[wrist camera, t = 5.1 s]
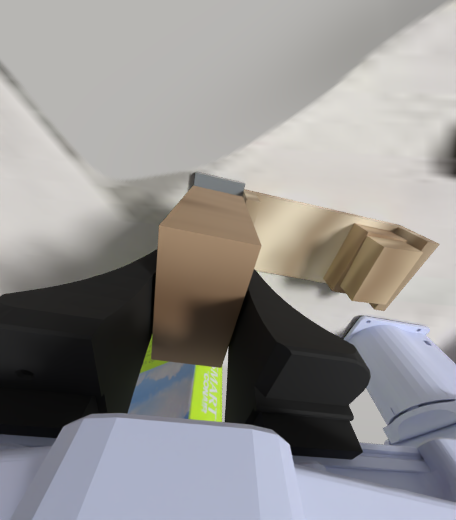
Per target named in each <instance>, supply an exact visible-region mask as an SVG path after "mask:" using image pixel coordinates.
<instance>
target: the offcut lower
mask: <svg viewBox="0 0 456 520" xmlns="http://www.w3.org/2000/svg"><path fill="white" fill-rule="evenodd" d="M367 236H372V237H379V238H386V239H393V240H400V241H403V242H405V243H406V242H407V240H405V239H404V238H402V237H400V236H398V235H396V234H394V233H393V232H391V231H387V230H383V229H378V228H374V227H369V226H365V225H361V224H356V223H354V225H353V226H352V228H351V230H350V232H349V233H348V235H347V237H346V239H345V241H344V242H343V244H342V246H341V248H340V249H339V251H338V253H337V255H336V257H335V258H334V260H333V262H332V264H331V265H330V267H329V269H328V271H327V273H326V274H325V276H324V278H323V279H324V280H325V282H326V283H327V284H328V286H329V287H330V289H331V290H332V291H335V292H340V293H345V291H344V290H343V289H342V288H341V286H340V285H341V283H342V282H343V280H344V278H345V276H346V274H347V272H348V270H349V269H350V267H351V265H352V263H353V261H354V259H355V257H356V256H357V254H358V252H359V250H360V248H361V246H362V244H363V243H364V241H365V239H366V237H367Z"/></svg>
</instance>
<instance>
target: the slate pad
mask: <svg viewBox="0 0 456 520" xmlns="http://www.w3.org/2000/svg"><path fill="white" fill-rule="evenodd" d="M194 186H198V187H202V188H206V189H211V190H215V191H220V192H224V193H228V194H233V195H237V196H242V195H243V191H244V187H245V183H243V182H239V181H235V180H230V179H226V178H222V177H217V176H213V175H209V174H205V173H200V172H196V173H195V180H194Z"/></svg>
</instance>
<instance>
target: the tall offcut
mask: <svg viewBox="0 0 456 520" xmlns="http://www.w3.org/2000/svg"><path fill="white" fill-rule="evenodd" d="M261 246H262V245H261V243H260V240H259V238H258V235H257V232H256V230H255V227H254V225H253V222H252V219H251V217H250V214H249V211H248V209H247V206H246V204H245V201H244V198H243V197H242V196H237V195H233V194H228V193H224V192H220V191H215V190H211V189H206V188H202V187H198V186H192V187H191V189H190V190H189V191H188V192H187V193H186V194H185V196H184V197H183V198H182V199H181V200H180V201H179V203H178V204H177V205H176V206H175V207H174V208H173V210H172V211H171V212H170V213H169V214H168V216H167V217H166V218H165V219H164V220H163V221H162V223H161V224H160V225H159V234H158V251H157V268H156V285H155V302H154V319H153V336H152V353H151V359H152V360H160V361H168V362H176V363H185V364H193V365H201V366H209V367H218V368H221V367H222V364H223V361H224V358H225V355H226V352H227V349H228V346H229V343H230V340H231V337H232V334H233V331H234V328H235V325H236V322H237V319H238V316H239V313H240V310H241V307H242V304H243V301H244V298H245V295H246V292H247V289H248V286H249V283H250V279H251V276H252V273H253V270H254V267H255V264H256V261H257V258H258V255H259V252H260V249H261Z"/></svg>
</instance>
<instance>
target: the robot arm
mask: <svg viewBox="0 0 456 520" xmlns="http://www.w3.org/2000/svg"><path fill="white" fill-rule="evenodd" d="M157 251H158V249H157V250H155V251H153V252H152V253H150V254H148V255H146V256H145V257H143V258H141V259H139V260H137V261H135V262H133V263H131V264H129V265H126V266H124V267H121V268H119V269H116V270H114V271H111V272H108V273H105V274H102V275H98V276H95V277H92V278H88V279H85V280H81V281H77V282H73V283H68V284H63V285H59V286H54V287H48V288H43V289H36V290H29V291H23V292H16V293H9V294H4V295H2V296H1V297H0V520H456V364H455V363H454V362H453V361H452V360H451V359H450V358H449V357H448V356H447V355H446V354H445V353H444V352H443V351H442V350H441V349H440V348H439V347H438V346H437V345H436V344H434V343H433V342H432V341H431V340H430V339H429V338H428V337H427V336H426V334H427V333H428V332H429V331H430V329H429V328H428V327H426V326H421V325H415V324H409V323H403V322H397V321H391V320H385V319H379V318H373V317H367V316H362V317H360V318H359V319H358V321H357V322H356V323H355V325H354V326H353V327H352V328H351V330H350V331H349V332H348V334H347V335H346V336H345V338H344V339H342V338H340V337H338V336H336V335H334V334H332V333H330V332H329V331H327V330H325V329H324V328H322V327H320V326H319V325H317V324H316V323H314V322H312V321H311V320H309V319H308V318H306V317H305V316H304V315H302V314H301V313H299V312H298V311H297V310H295V309H294V308H293V307H291V306H290V305H289V304H288V303H287V302H285V301H284V300H283V299H282V298H281V297H280V296H279V295H278V294H276V293H275V292H274V291H273V290H272V289H271V287H270V286H269V285H268V284H267V283H266V282H265V281H264V280H263V279H262V278H261V276H260V275H259V274H258V273H257V271H256V270H255V269H254V270H253V273H252V276H251V279H250V283H249V286H248V289H247V292H246V295H245V298H244V301H243V304H242V307H241V310H240V313H239V316H238V319H237V322H236V325H235V328H234V331H233V334H232V337H231V340H230V343H229V348H228V375H227V393H226V394H227V395H226V410H225V422H216V421H205V420H193V419H182V418H171V417H160V416H149V415H137V414H127V413H128V410H129V407H130V403H131V400H132V397H133V393H134V390H135V387H136V384H137V380H138V377H139V374H140V371H141V368H142V364H143V361H144V358H145V355H146V352H147V349H148V346H149V343H150V340H151V337H152V334H153V319H154V302H155V285H156V268H157ZM365 388H366V389H367V390H368V392H369V394H370V396H371V398H372V399H373V401H374V403H375V404H376V406H377V408H378V410H379V411H380V413H381V415H382V417H383V418H384V420H385V422H386V424H387V426H386V427H384V428H383V430H384V432H385V433H386V435H387V437H388V440H386V441H385V443H384V445H383V444H371V443H359V441H358V439H357V437H356V435H355V432H354V430H353V428H352V426H351V424H350V421H352V420H353V419H354V416H353V414H352V412H351V409H350V407H349V404H350V403H351V402H352V401H353V400H354V399H355V398H356V397H358V396H359V395H360V394H361V393H362V392H363V391H364V390H365Z"/></svg>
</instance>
